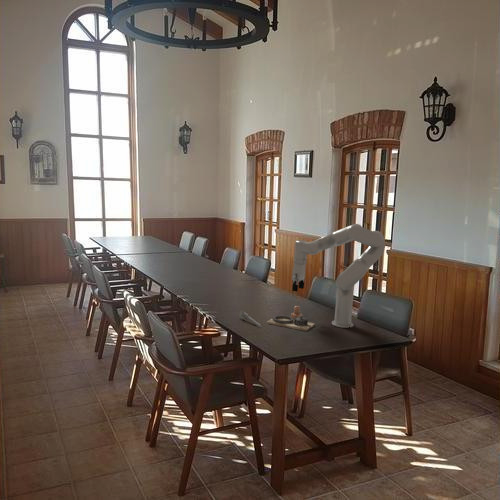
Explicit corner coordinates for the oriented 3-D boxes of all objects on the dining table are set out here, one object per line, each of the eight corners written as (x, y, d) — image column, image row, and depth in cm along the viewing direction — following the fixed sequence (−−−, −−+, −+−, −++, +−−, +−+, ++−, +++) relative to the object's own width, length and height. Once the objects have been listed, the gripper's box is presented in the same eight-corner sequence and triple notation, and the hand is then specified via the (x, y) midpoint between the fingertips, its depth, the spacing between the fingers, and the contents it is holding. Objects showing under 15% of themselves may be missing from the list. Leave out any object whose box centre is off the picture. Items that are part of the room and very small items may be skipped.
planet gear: (293, 316, 300) (294, 304, 299) (303, 318, 297) (304, 306, 296) (288, 319, 294) (289, 306, 293) (299, 321, 291) (300, 308, 289)
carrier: (277, 318, 294) (277, 307, 294) (314, 325, 283) (315, 314, 283) (266, 323, 282) (267, 312, 281) (305, 331, 271) (306, 320, 270)
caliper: (239, 319, 289) (239, 308, 288) (240, 318, 290) (241, 308, 289) (260, 328, 273) (261, 317, 272) (262, 328, 274) (262, 317, 273)
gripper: (299, 258, 300) (297, 286, 302) (288, 262, 284) (286, 291, 287) (311, 260, 296) (309, 288, 299) (300, 264, 281) (298, 293, 283)
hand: (298, 289), depth 293 cm, fingers open, 9 cm apart
